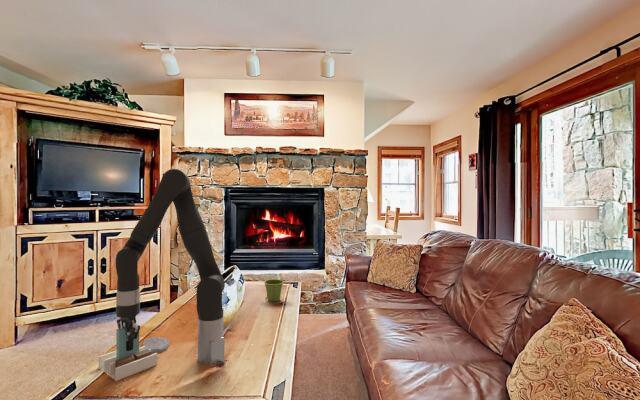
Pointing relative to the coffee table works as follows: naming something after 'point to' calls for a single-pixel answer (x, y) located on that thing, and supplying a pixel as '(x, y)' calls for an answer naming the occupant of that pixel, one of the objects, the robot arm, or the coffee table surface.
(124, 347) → the sheet
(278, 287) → the plant pot
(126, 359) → the offcut
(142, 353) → the offcut
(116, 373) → the rack
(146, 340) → the stone block
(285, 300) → the coffee table surface
